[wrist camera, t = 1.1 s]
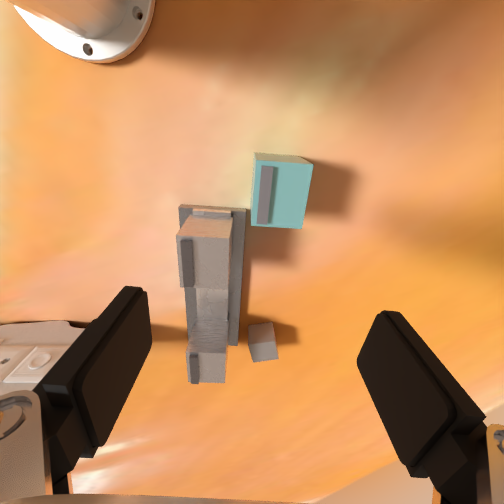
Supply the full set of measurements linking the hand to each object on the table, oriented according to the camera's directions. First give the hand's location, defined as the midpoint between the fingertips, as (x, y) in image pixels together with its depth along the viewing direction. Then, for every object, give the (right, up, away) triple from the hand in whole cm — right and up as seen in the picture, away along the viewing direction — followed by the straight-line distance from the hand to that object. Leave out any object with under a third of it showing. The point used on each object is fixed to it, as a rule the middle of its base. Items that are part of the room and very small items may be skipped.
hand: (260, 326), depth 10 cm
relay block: (+1, -10, +30) cm, 31 cm away
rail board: (-6, -1, +25) cm, 25 cm away
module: (+2, +11, +18) cm, 22 cm away
